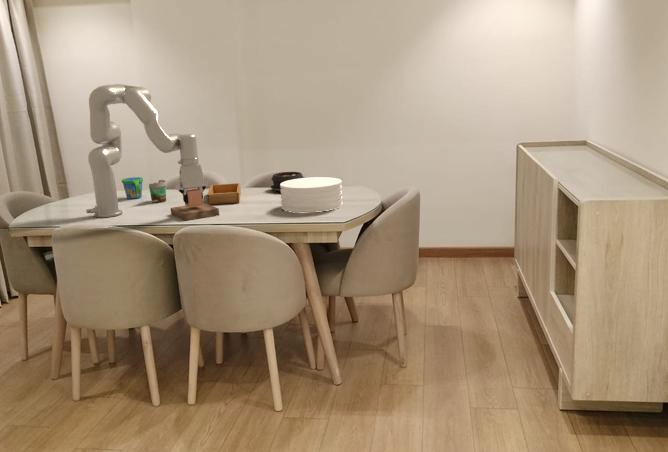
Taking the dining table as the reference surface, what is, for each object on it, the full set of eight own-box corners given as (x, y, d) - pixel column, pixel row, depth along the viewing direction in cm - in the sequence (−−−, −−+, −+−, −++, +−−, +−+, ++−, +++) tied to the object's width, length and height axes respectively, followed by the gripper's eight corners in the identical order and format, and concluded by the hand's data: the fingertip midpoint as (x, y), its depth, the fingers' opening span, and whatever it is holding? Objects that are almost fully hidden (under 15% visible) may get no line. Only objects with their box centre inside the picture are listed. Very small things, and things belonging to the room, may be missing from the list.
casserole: (302, 193, 352) (301, 177, 350) (266, 194, 353) (265, 178, 351) (308, 184, 376) (307, 169, 374) (274, 186, 378) (273, 170, 376)
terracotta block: (189, 207, 308) (188, 191, 306) (185, 205, 313) (183, 189, 311) (202, 205, 311) (201, 189, 309) (197, 203, 316) (196, 188, 314)
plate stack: (270, 212, 311) (268, 186, 309) (299, 199, 336) (298, 176, 333) (326, 215, 300) (325, 188, 297) (352, 202, 324) (351, 177, 321)
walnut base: (184, 220, 302) (184, 214, 301) (171, 214, 317) (170, 207, 316) (219, 215, 310) (218, 208, 309) (204, 209, 325) (203, 202, 324)
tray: (211, 194, 363) (210, 184, 362) (240, 192, 364) (240, 182, 363) (207, 206, 333) (206, 194, 332) (239, 204, 334) (238, 192, 333)
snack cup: (148, 198, 358) (145, 179, 356) (127, 201, 354) (125, 181, 351) (141, 194, 372) (138, 175, 369) (121, 197, 367) (118, 178, 365)
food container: (162, 203, 343) (159, 183, 340) (150, 204, 344) (148, 184, 342) (172, 199, 354) (170, 179, 352) (161, 199, 356) (159, 179, 353)
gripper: (173, 165, 300) (177, 206, 304) (211, 160, 309) (214, 200, 313) (168, 163, 306) (172, 203, 311) (205, 159, 315) (208, 198, 319)
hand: (193, 201), depth 312 cm, fingers closed on terracotta block, 6 cm apart
